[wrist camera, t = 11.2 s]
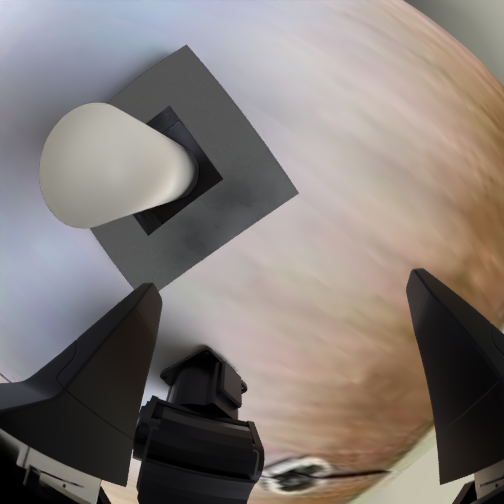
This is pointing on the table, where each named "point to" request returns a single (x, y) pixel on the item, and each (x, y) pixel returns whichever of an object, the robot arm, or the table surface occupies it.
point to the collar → (212, 201)
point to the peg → (110, 167)
